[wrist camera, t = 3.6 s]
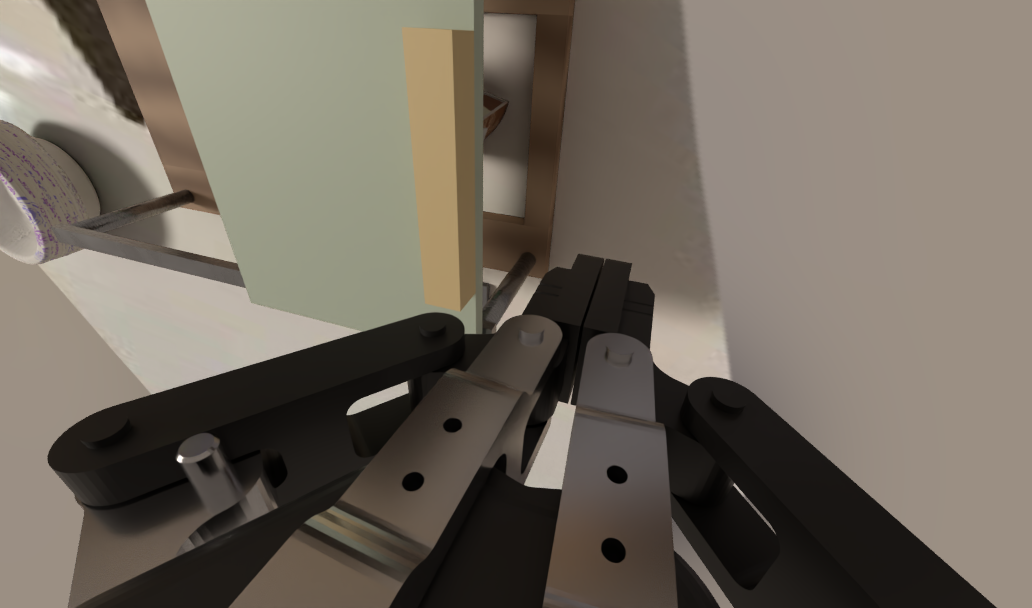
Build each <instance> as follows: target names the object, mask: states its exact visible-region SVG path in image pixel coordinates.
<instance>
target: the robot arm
mask: <svg viewBox="0 0 1032 608" xmlns="http://www.w3.org/2000/svg"><path fill="white" fill-rule="evenodd" d="M603 264H604V266H603ZM631 266H632V263H627V262H621V261H616V260H610V259H606V260H605V263H604V258H599V257H593V256H588V255H582V254H578V256H577V258H576V260H575V262H574V264H573V266H572V269H566V268H560V267H556V268H554V269H553V270H551V271H549V272H547V273H546V274H545V275H544V277H543V279H542V280H541V282H540V285H539V286H538V287H537V289H536V292H535V293H534V294H533V296H532V298H531V300H530V301H529V303H528V305H527V307H526V308H525V310H524V312H523V314H522V315H519V316H515V317H512V318H510V319H508V320H507V321H505V322H504V323H503V324H502V326H501V327H500V328H499V330H498V331H497V332H496V333H493V334H465V328H464V324H463V323H462V321H461V320H460V319H459V318H457V317H455V316H453V315H451V314H447V313H441V312H430V313H424V314H420V315H417V316H414V317H410V318H407V319H403V320H400V321H397V322H393V323H390V324H387V325H383V326H380V327H377V328H373V329H370V330H367V331H363V332H360V333H357V334H353V335H350V336H347V337H343V338H340V339H337V340H333V341H330V342H327V343H323V344H320V345H316V346H313V347H310V348H306V349H303V350H300V351H296V352H293V353H290V354H286V355H283V356H280V357H276V358H273V359H270V360H266V361H263V362H260V363H256V364H253V365H250V366H246V367H243V368H239V369H236V370H233V371H229V372H226V373H223V374H219V375H216V376H213V377H209V378H206V379H203V380H199V381H196V382H193V383H189V384H186V385H183V386H179V387H176V388H173V389H169V390H166V391H163V392H159V393H156V394H152V395H149V396H146V397H143V398H139V399H136V400H133V401H129V402H126V403H122V404H119V405H116V406H112V407H110V408H107V409H104V410H101V411H99V412H96V413H94V414H92V415H90V416H88V417H86V418H85V419H83V420H81V421H79V422H78V423H76V424H75V425H73V426H72V427H71V428H69V429H68V430H67V431H65V432H64V433H63V434H62V435H61V436H60V437H59V438H58V439H57V440H56V441H55V443H54V444H53V445H52V447H51V449H50V451H49V454H48V463H49V465H50V466H51V468H52V469H53V470H54V471H55V473H56V474H57V475H58V476H59V477H60V478H61V479H62V480H63V482H64V483H65V484H66V485H67V486H68V487H69V489H70V490H71V491H72V492H73V493H74V494H75V499H76V501H77V503H78V504H79V505H80V506H81V507H82V509H83V510H84V518H83V525H82V530H81V535H80V541H79V546H78V552H77V558H76V564H75V569H74V576H73V581H72V586H71V592H70V598H69V603H68V608H720V607H719V605H718V603H717V602H716V600H715V599H714V597H713V596H712V594H711V593H710V591H709V590H708V588H707V587H706V585H705V584H704V583H703V581H702V580H701V579H700V578H699V576H698V575H697V574H696V572H695V571H694V570H693V569H692V568H691V567H690V566H689V565H688V564H687V562H686V561H685V560H684V559H682V557H681V556H680V555H678V554H677V553H676V552H675V551H674V546H673V532H672V518H673V519H674V521H675V522H676V524H677V525H678V527H679V528H680V530H681V531H682V533H683V534H684V536H685V537H686V539H687V540H688V541H689V543H690V544H691V546H692V547H693V549H694V550H695V552H696V553H697V555H698V556H699V557H700V559H701V560H702V562H703V563H704V565H705V566H706V568H707V569H708V570H709V572H710V574H711V575H712V576H713V578H714V579H715V581H716V582H717V584H718V585H719V587H720V588H721V590H722V591H723V592H724V594H725V595H726V597H727V598H728V600H729V601H730V603H731V604H732V606H733V607H734V608H996V607H995V606H994V605H993V604H992V603H991V602H990V601H989V600H987V599H986V598H985V597H984V596H983V595H982V594H981V593H979V592H978V591H977V590H976V589H975V588H974V587H973V586H971V585H970V584H969V583H968V582H967V581H966V580H965V579H964V578H962V577H961V576H960V575H959V574H958V573H957V572H956V571H954V570H953V569H952V568H951V567H950V566H949V565H948V564H947V563H945V562H944V561H943V560H942V559H941V558H940V557H938V556H937V555H936V554H935V553H934V552H933V551H932V550H930V548H928V547H927V546H926V545H925V544H924V543H923V542H922V541H920V540H919V539H918V538H917V537H916V536H915V535H914V534H912V533H911V532H910V531H909V530H908V529H907V528H906V527H905V526H903V525H902V524H901V523H900V522H899V521H898V520H897V519H895V518H894V517H893V516H892V515H891V514H890V513H889V512H888V511H887V510H885V509H884V508H883V507H882V506H881V505H880V504H879V503H877V502H876V501H875V500H874V499H873V498H872V497H871V496H870V495H868V494H867V493H866V492H865V491H864V490H863V489H861V488H860V487H859V486H858V485H857V484H856V483H854V482H853V480H851V479H850V478H849V477H848V476H847V475H846V474H845V473H843V472H842V471H841V470H840V469H839V468H838V467H837V466H835V465H834V464H833V463H832V462H831V461H830V460H828V459H827V458H826V457H825V456H824V455H823V454H822V453H821V452H820V451H818V450H817V449H816V448H815V447H814V446H813V445H812V444H811V443H809V442H808V441H807V440H806V439H805V438H804V437H802V436H801V435H800V434H799V433H798V432H797V431H796V430H795V429H794V428H792V427H791V426H790V425H789V424H788V423H787V422H786V421H784V420H783V419H782V418H781V417H780V416H779V415H778V414H777V413H775V412H774V411H773V410H772V409H771V408H770V407H768V406H767V405H766V404H765V403H764V402H763V401H762V400H761V399H759V398H758V397H757V396H756V395H755V394H754V393H752V392H751V391H750V390H748V389H747V388H745V387H743V386H742V385H740V384H738V383H735V382H733V381H730V380H727V379H723V378H717V377H704V378H700V379H697V380H695V381H694V382H692V383H691V384H690V386H688V385H686V384H684V383H682V382H679V381H677V380H675V379H673V378H671V377H670V376H668V375H667V374H665V373H664V372H662V371H661V370H660V369H659V368H658V367H657V366H656V365H655V363H654V362H653V357H652V354H651V352H650V341H651V331H652V320H653V309H654V308H653V307H654V299H655V294H654V293H653V291H652V290H651V288H650V287H649V285H648V284H645V283H640V282H634V281H629V275H630V271H631ZM406 381H407V382H408V390H409V393H408V394H405V395H402V396H400V397H397V398H395V399H392V400H390V401H387V402H384V403H382V404H379V405H377V406H374V407H372V408H369V409H367V410H364V411H361V412H359V413H356V414H353V415H346V414H347V411H348V409H349V408H350V406H351V405H352V404H353V403H354V402H356V401H357V400H359V399H361V398H363V397H366V396H369V395H371V394H374V393H377V392H379V391H382V390H385V389H387V388H390V387H393V386H395V385H398V384H401V383H403V382H406ZM573 385H574V387H573ZM572 388H573V393H572V399H571V404H572V405H576V409H575V415H574V420H573V426H572V432H571V438H570V444H569V449H568V455H567V461H566V467H565V473H564V479H563V485H562V490H561V489H548V488H535V487H528V486H525V485H524V483H525V481H526V479H527V477H528V474H529V472H530V470H531V468H532V465H533V463H534V461H535V459H536V456H537V454H538V452H539V450H540V447H541V445H542V443H543V441H544V438H545V436H546V434H547V432H548V429H549V427H550V424H551V417H552V415H553V414H554V411H555V409H556V406H557V403H558V401H560V402H564V403H568V402H569V398H570V395H571V392H572ZM734 483H735V484H736V485H737V486H738V487H739V489H740V490H741V491H742V492H743V493H744V494H745V495H746V497H747V498H748V499H749V500H750V501H751V502H752V503H753V505H754V506H755V507H756V508H757V509H758V510H759V511H760V513H761V514H762V515H763V516H764V517H765V518H766V520H767V521H768V522H769V523H770V524H771V526H772V527H773V529H774V531H775V533H776V534H775V533H774V532H773V531H772V530H771V528H770V527H769V526H768V525H767V524H766V523H765V522H764V520H763V519H762V518H761V517H760V516H759V515H758V514H757V512H756V511H755V510H754V509H753V508H752V507H751V505H750V504H749V503H748V502H747V501H746V500H745V498H744V497H743V496H742V495H741V494H740V493H739V491H738V490H737V489H736V488H735V487H734V486H733V484H734Z"/></svg>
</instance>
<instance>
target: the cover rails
mask: <svg viewBox="0 0 1032 608" xmlns="http://www.w3.org/2000/svg"><path fill="white" fill-rule="evenodd" d="M193 202H194V196H193V194H192V193H191V192H190V191H189V190H186V189H185V190H181V191H178V192H175V193H172V194H168V195H165V196H162V197H158V198H155V199H152V200H149V201H145V202H142V203H139V204H135V205H132V206H129V207H126V208H122V209H119V210H116V211H113V212H109V213H106V214H103V215H99V216H96V217H93V218H90V219H86V220H83V221H80V222H77V223H73V224H70V225H67V224H63V223H60V224H57V225H54V226H50V228H51V229H52V231H53V233H54V234H55V236H56V238H57V240H58V241H59V242H60V243H65V244H69V245H73V246H77V247H81V248H85V249H89V250H93V251H97V252H101V253H105V254H109V255H114V256H118V257H122V258H126V259H130V260H134V261H138V262H142V263H146V264H150V265H154V266H158V267H163V268H167V269H171V270H175V271H179V272H183V273H187V274H191V275H195V276H199V277H203V278H207V279H212V280H216V281H220V282H224V283H228V284H232V285H236V286H240V287H244V288H246V287H245V284H244V281H243V278H242V275H241V272H240V269H239V267H238V264H237V263H233V262H228V261H224V260H219V259H215V258H211V257H206V256H202V255H198V254H193V253H189V252H185V251H180V250H176V249H172V248H167V247H163V246H158V245H154V244H150V243H145V242H141V241H137V240H132V239H128V238H124V237H119V236H115V235H110V234H106V233H104V232H107V231H110V230H113V229H116V228H119V227H122V226H125V225H128V224H130V223H133V222H136V221H139V220H142V219H145V218H148V217H151V216H154V215H157V214H160V213H163V212H166V211H169V210H172V209H175V208H178V207H181V206H184V205H187V204H190V203H193ZM535 263H536V258H535V256H534V255H533V254H531V253H529V252H525V253H523V254H522V255H521V256H520V257H519V259H518V260H517V262H516V263H515V264H514V266H513V267H512V268H511V270H510V271H509V273H508V274H507V275H506V277H505V278H504V279H503V281H502V282H501V284H500V285H499V286H498V288H497V289H496V290H495V292H494V293H493V295H492V296H491V297H490V299H489V300H488V302H487V303H486V304H485V306H484V307H483V308H482V334H493V333H496V325H497V324H498V322H499V321H500V319H501V317H502V316H503V314H504V313H505V311H506V309H507V308H508V306H509V305H510V303H511V302H512V300H513V298H514V297H515V295H516V294H517V292H518V291H519V289H520V287H521V286H522V284H523V283H524V281H525V279H526V278H527V276H528V275H529V273H530V272H531V270H532V268H533V267H534V265H535Z"/></svg>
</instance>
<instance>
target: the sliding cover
mask: <svg viewBox="0 0 1032 608" xmlns="http://www.w3.org/2000/svg"><path fill="white" fill-rule="evenodd" d="M145 1H146V4H147V7H148V10H149V12H150V15H151V18H152V21H153V24H154V27H155V29H156V32H157V35H158V38H159V41H160V44H161V47H162V49H163V52H164V55H165V58H166V61H167V64H168V67H169V69H170V72H171V75H172V78H173V81H174V84H175V87H176V89H177V92H178V95H179V98H180V101H181V104H182V107H183V109H184V112H185V115H186V118H187V121H188V124H189V127H190V129H191V132H192V135H193V138H194V141H195V144H196V147H197V149H198V152H199V155H200V158H201V161H202V164H203V167H204V169H205V172H206V175H207V178H208V181H209V184H210V187H211V189H212V192H213V195H214V198H215V201H216V204H217V207H218V209H219V212H220V215H221V218H222V221H223V224H224V227H225V229H226V232H227V235H228V238H229V241H230V244H231V247H232V249H233V252H234V255H235V258H236V261H237V264H238V267H239V269H240V272H241V275H242V278H243V281H244V284H245V287H246V289H247V292H248V295H249V298H250V301H251V303H254V304H258V305H261V306H265V307H269V308H273V309H277V310H281V311H285V312H289V313H293V314H297V315H301V316H305V317H309V318H313V319H317V320H320V321H324V322H328V323H332V324H336V325H340V326H344V327H348V328H352V329H356V330H360V331H367V330H370V329H373V328H377V327H380V326H383V325H387V324H390V323H393V322H397V321H400V320H403V319H407V318H410V317H414V316H417V315H420V314H424V313H430V312H441V313H447V314H451V315H453V316H455V317H457V318H459V319H460V320H461V321H462V323H463V324H464V328H465V334H482V291H483V24H484V0H145Z"/></svg>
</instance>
